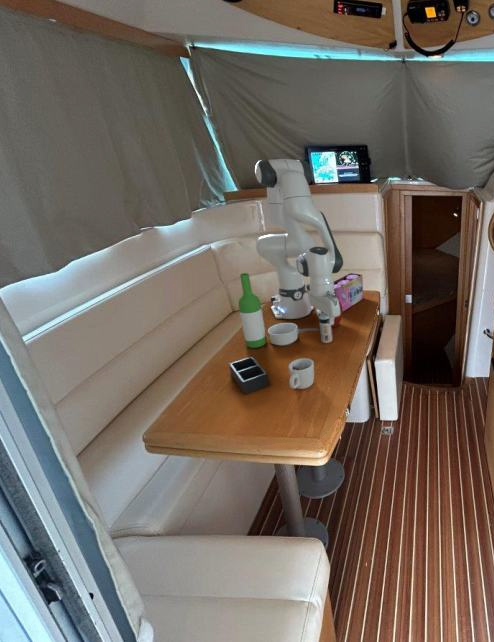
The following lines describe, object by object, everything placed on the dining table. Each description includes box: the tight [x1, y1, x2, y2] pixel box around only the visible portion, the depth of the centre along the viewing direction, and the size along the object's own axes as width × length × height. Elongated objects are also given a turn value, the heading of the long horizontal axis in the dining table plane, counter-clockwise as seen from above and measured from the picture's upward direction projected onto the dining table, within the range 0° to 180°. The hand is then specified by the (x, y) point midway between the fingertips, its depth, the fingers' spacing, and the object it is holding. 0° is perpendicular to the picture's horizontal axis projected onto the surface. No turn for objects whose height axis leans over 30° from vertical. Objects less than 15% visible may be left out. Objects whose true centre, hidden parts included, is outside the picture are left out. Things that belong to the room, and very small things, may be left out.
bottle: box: [238, 272, 268, 349], centre depth 141 cm, size 8×8×30 cm
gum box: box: [333, 272, 365, 313], centre depth 185 cm, size 24×8×14 cm, turn 159°
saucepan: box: [267, 322, 319, 346], centre depth 149 cm, size 12×20×6 cm, turn 92°
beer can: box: [318, 313, 334, 344], centre depth 148 cm, size 5×5×12 cm
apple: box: [321, 302, 343, 328], centre depth 162 cm, size 10×10×14 cm
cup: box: [287, 357, 315, 390], centre depth 118 cm, size 11×8×8 cm
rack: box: [228, 356, 270, 395], centre depth 122 cm, size 15×8×5 cm, turn 43°
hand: (325, 320), depth 147 cm, fingers open, 8 cm apart
